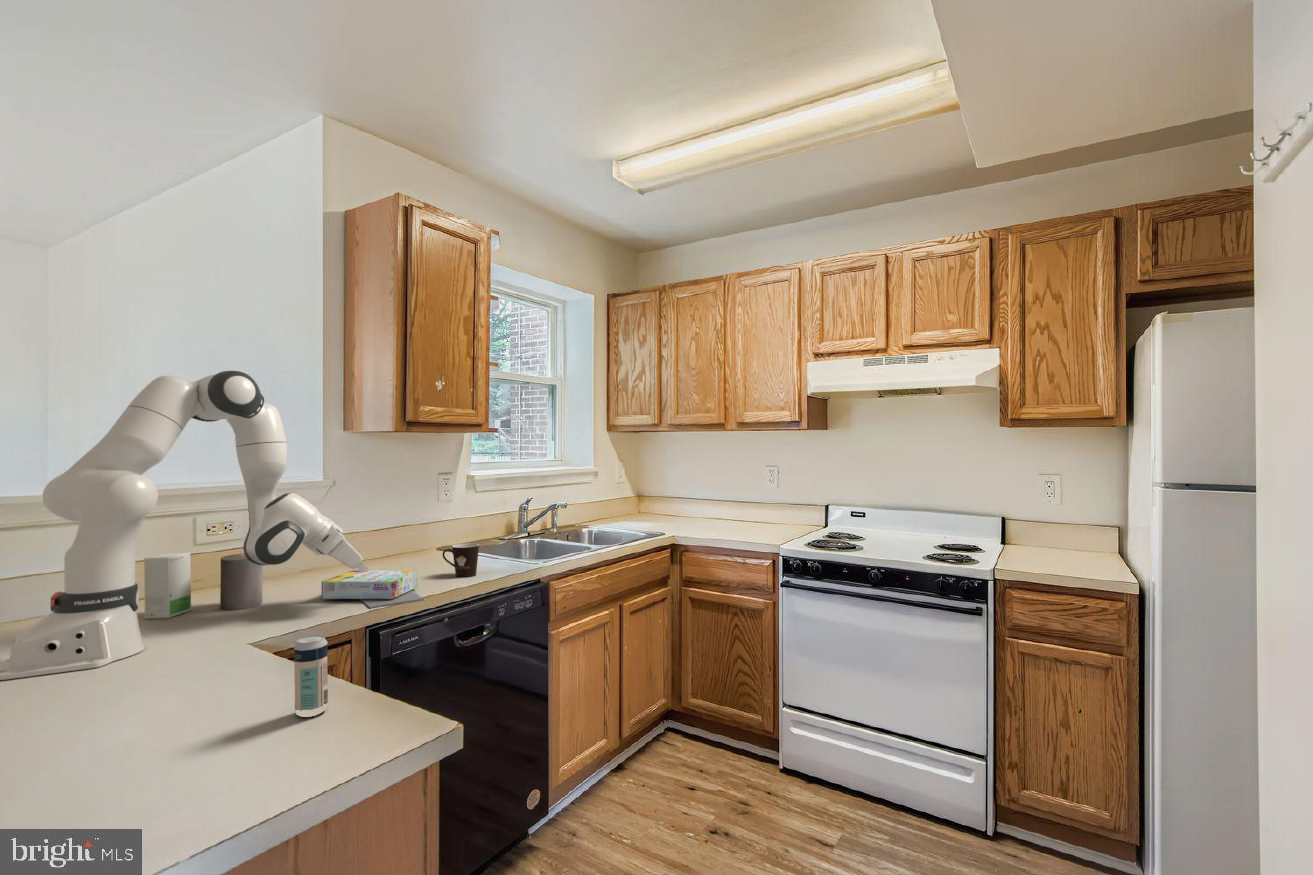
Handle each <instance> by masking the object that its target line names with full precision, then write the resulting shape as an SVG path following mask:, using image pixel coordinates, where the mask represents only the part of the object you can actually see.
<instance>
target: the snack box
mask: <svg viewBox="0 0 1313 875" xmlns="http://www.w3.org/2000/svg"><path fill="white" fill-rule="evenodd" d="M418 587H419V571H418V570H368V569H367V570H366V571H365V572H362V571H360V570H359V569H358V570H355V569H352V570H349V571H348V572H345V573H342V574H338V575H336V576H333V577H331V578H327V579H323V580H322V581H321V597H320V598H321V600H360V599H393V598H396V597H398V596H400V595H402V594H404V593H406V592H408V591H411V590H412V591H413V590H415V589H417V588H418Z"/></svg>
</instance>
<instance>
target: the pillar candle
mask: <svg viewBox="0 0 1313 875" xmlns="http://www.w3.org/2000/svg"><path fill="white" fill-rule="evenodd" d="M219 591H220V593H219V594H220V600H219V601H220V605H219V608H220V609H221V610H223V611H237V610H238V611H240V610H247V609H252V608H256V607H258V606H260V605H261V604H262V603H263V565H257V564H254V563H252V562H251V561H249V560H248V559H247V557H246V556H245V554H244V552H243V550H242V551H240V553H236V554H233V553H232V554H227V555H224V556H222V557H220V590H219ZM255 606H256V607H255Z"/></svg>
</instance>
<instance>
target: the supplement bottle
mask: <svg viewBox="0 0 1313 875" xmlns="http://www.w3.org/2000/svg"><path fill="white" fill-rule="evenodd" d="M328 643H329V642H328V641H327V640H326V638H325V636H324V635H320V634H317V635H316V634H315V635H307V636H305V637H301V638H299V639H297V640H296V642H295V644H294V647H293V649H294V711H295V710H300V711H302V710H313V709H316V708H319V707H321V706H323V705H324V704H326V703H328V702H329V698H328V697H329V696H328V695H329V688H328V686H329V685H328V682H329V681H328V678H329V677H328V673H329V672H328V671H329V670H328ZM328 704H329V703H328Z"/></svg>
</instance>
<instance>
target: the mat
mask: <svg viewBox="0 0 1313 875" xmlns="http://www.w3.org/2000/svg"><path fill="white" fill-rule="evenodd" d="M359 600H360V601H361V602H362V603H363V604H364V605H365V606H367V607H368V608H369V609H375V608H383V607H387V606H395V605H399V604H407V603H413V602H418V601H424V600H425V598H424V597H423V596H421V595H419V594H418V593H416V592H415V591H413V590H411V591H408V592H406V593H404V594H402V595H400V596H398V597H396V598H393V599H359Z"/></svg>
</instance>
